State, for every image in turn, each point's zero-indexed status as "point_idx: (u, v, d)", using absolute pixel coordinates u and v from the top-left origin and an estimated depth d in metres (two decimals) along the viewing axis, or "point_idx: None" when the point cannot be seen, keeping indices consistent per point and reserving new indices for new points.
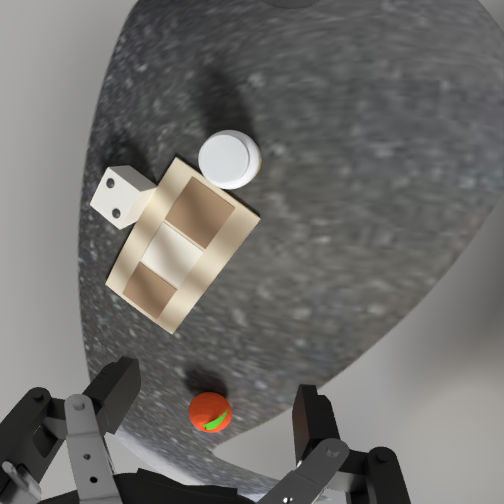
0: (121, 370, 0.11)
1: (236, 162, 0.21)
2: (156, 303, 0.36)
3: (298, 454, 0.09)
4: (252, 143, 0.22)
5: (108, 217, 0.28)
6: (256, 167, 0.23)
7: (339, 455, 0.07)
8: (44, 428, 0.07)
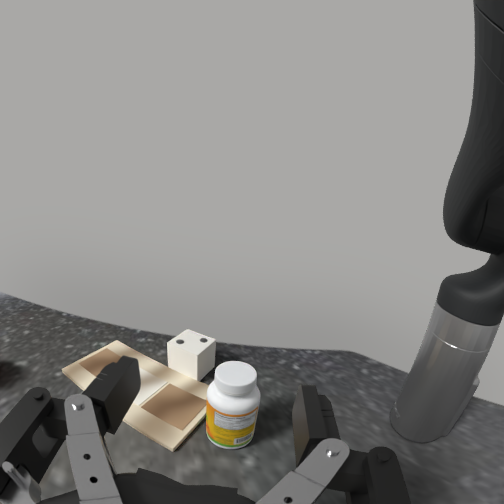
0: (121, 370, 0.11)
1: (235, 379, 0.23)
2: (94, 366, 0.32)
3: (298, 454, 0.09)
4: (252, 404, 0.23)
5: (177, 337, 0.37)
6: (231, 408, 0.23)
7: (339, 455, 0.07)
8: (44, 428, 0.07)
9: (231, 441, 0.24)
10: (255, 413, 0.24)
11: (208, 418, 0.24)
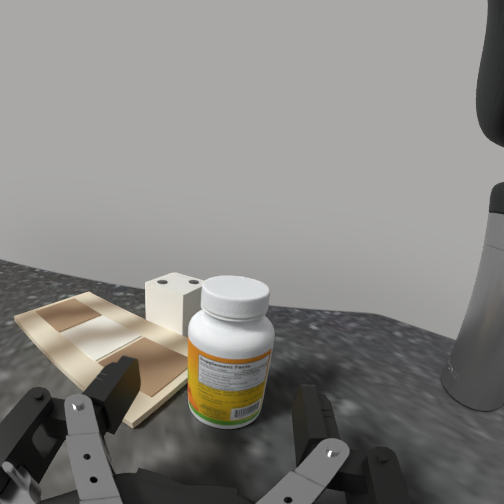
0: (121, 370, 0.11)
1: (235, 292, 0.15)
2: (52, 315, 0.24)
3: (298, 454, 0.09)
4: (263, 341, 0.15)
5: (159, 278, 0.29)
6: (226, 346, 0.14)
7: (339, 455, 0.07)
8: (44, 428, 0.07)
9: (226, 414, 0.15)
10: (266, 362, 0.16)
11: (190, 373, 0.16)
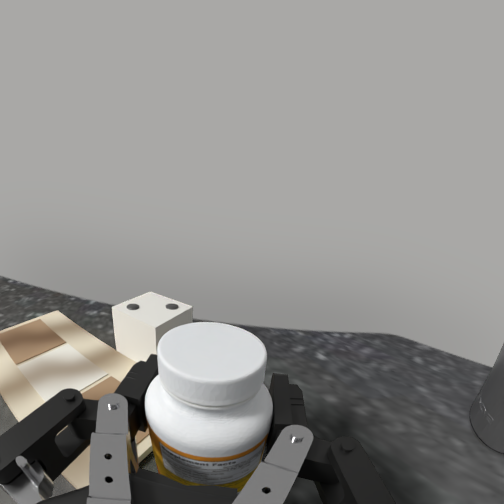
0: (152, 368, 0.11)
1: (207, 363, 0.08)
2: (13, 341, 0.17)
3: (268, 441, 0.10)
4: (255, 431, 0.08)
5: (130, 301, 0.22)
6: (197, 443, 0.08)
7: (302, 441, 0.08)
8: (71, 429, 0.07)
9: None
10: (261, 449, 0.09)
11: (154, 452, 0.09)
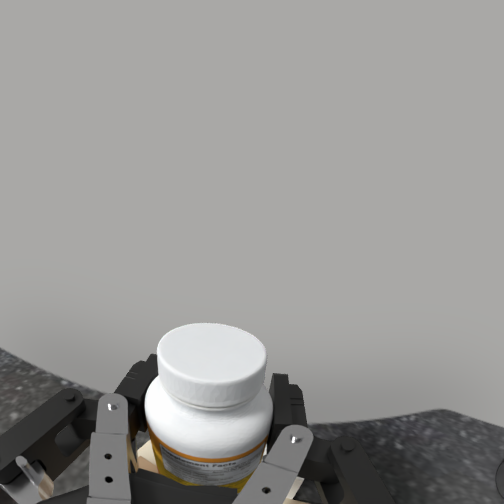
0: (152, 368, 0.11)
1: (207, 364, 0.08)
2: None
3: (268, 441, 0.10)
4: (255, 432, 0.08)
5: None
6: (197, 444, 0.08)
7: (302, 441, 0.08)
8: (71, 429, 0.07)
9: None
10: (261, 450, 0.09)
11: (154, 453, 0.09)
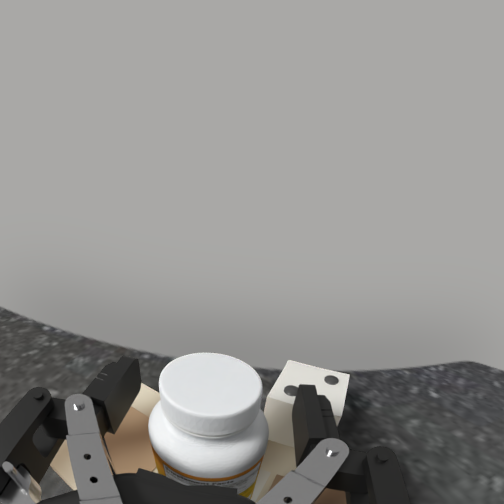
0: (121, 370, 0.11)
1: (206, 398, 0.09)
2: None
3: (298, 454, 0.09)
4: (251, 455, 0.09)
5: (280, 381, 0.18)
6: (198, 466, 0.08)
7: (339, 455, 0.07)
8: (44, 428, 0.07)
9: None
10: (257, 468, 0.09)
11: (157, 469, 0.10)
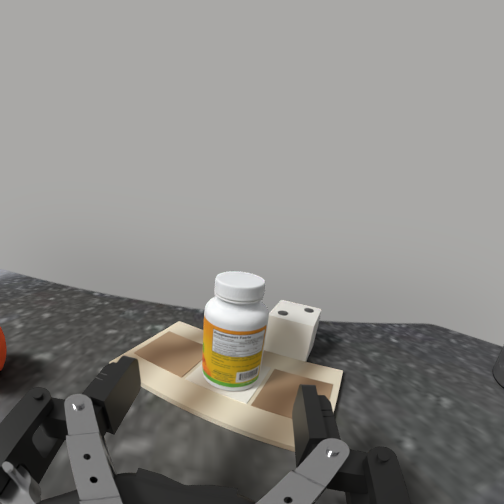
0: (121, 370, 0.11)
1: (239, 283, 0.21)
2: (158, 355, 0.25)
3: (298, 454, 0.09)
4: (260, 318, 0.21)
5: (275, 308, 0.30)
6: (234, 321, 0.20)
7: (339, 455, 0.07)
8: (44, 428, 0.07)
9: (232, 377, 0.21)
10: (263, 335, 0.22)
11: (205, 345, 0.22)
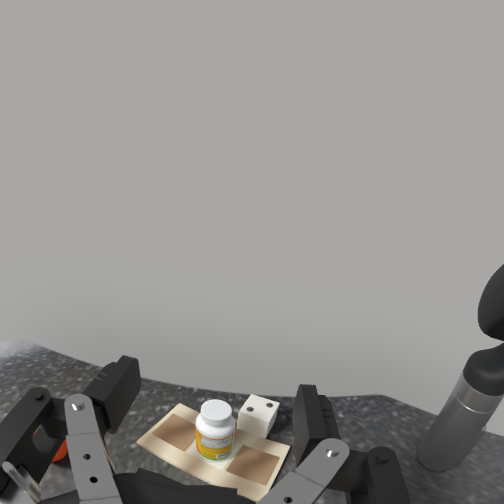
0: (121, 370, 0.11)
1: (215, 414, 0.30)
2: (168, 435, 0.34)
3: (298, 454, 0.09)
4: (228, 431, 0.30)
5: (245, 404, 0.39)
6: (212, 434, 0.29)
7: (339, 455, 0.07)
8: (44, 428, 0.07)
9: (214, 456, 0.30)
10: (231, 437, 0.31)
11: (197, 439, 0.31)
